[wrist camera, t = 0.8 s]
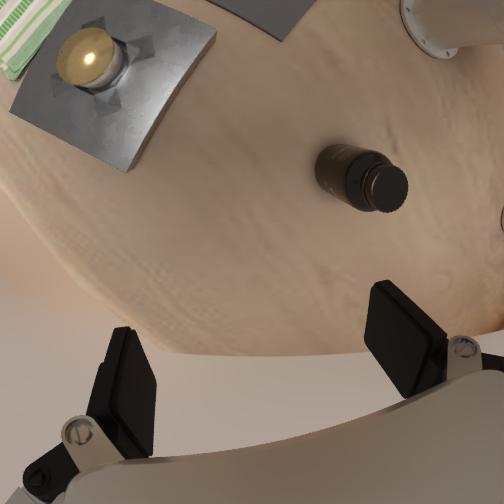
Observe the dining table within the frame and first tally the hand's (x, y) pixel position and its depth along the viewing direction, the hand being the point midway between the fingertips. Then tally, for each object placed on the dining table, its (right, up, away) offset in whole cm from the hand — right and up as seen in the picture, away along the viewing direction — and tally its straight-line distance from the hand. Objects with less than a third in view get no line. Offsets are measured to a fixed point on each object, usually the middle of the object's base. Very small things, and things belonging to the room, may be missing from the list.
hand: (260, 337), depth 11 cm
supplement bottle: (+11, +14, +26) cm, 31 cm away
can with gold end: (-17, +24, +15) cm, 33 cm away
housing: (-17, +24, +16) cm, 34 cm away
